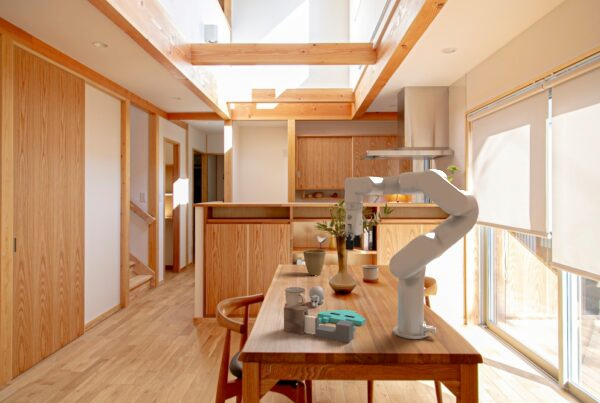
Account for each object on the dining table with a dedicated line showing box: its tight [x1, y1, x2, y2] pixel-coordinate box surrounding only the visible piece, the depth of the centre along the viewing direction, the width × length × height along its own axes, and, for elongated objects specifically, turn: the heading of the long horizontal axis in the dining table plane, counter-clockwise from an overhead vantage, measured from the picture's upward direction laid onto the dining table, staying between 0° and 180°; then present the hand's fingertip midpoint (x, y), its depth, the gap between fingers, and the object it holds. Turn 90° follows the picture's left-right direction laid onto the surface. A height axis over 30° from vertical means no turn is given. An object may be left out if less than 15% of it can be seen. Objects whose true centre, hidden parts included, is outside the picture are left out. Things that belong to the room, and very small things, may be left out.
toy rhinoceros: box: [308, 285, 325, 309], centre depth 181 cm, size 7×12×8 cm, turn 165°
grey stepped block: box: [315, 320, 355, 344], centre depth 139 cm, size 13×5×6 cm, turn 64°
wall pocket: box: [283, 303, 309, 335], centre depth 146 cm, size 8×5×9 cm, turn 64°
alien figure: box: [317, 309, 367, 332], centre depth 158 cm, size 20×2×20 cm
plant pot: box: [302, 249, 326, 276], centre depth 251 cm, size 15×15×16 cm
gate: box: [304, 315, 320, 335], centre depth 145 cm, size 13×2×6 cm, turn 64°
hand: (353, 248), depth 158 cm, fingers open, 9 cm apart
